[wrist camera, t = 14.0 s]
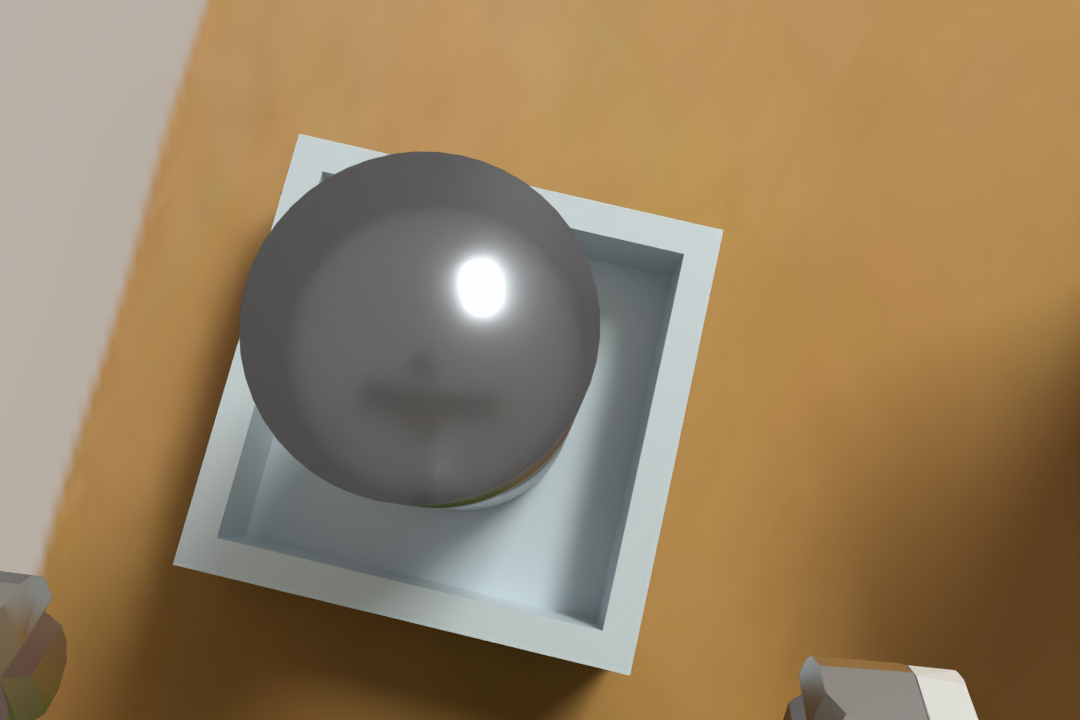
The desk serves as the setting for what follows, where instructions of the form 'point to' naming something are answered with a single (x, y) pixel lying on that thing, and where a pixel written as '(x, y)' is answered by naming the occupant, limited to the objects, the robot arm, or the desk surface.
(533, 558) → the tray
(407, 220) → the tin
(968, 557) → the desk surface
